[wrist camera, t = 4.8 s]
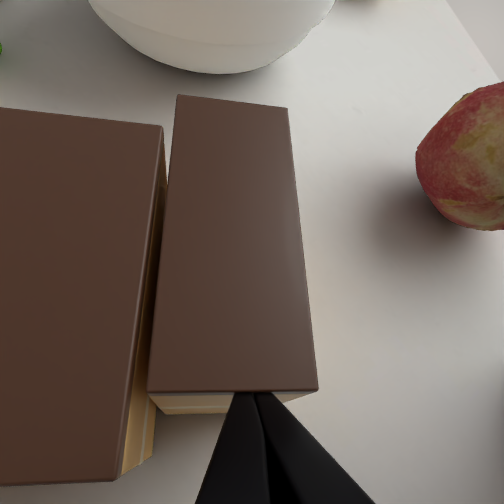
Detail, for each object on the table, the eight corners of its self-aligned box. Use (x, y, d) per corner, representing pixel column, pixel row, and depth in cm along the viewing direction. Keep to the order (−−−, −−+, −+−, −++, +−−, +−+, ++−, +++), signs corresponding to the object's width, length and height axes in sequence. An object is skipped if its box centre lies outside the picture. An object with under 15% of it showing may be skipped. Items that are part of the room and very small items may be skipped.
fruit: (377, 218, 21) (476, 108, 14) (404, 140, 24) (492, 21, 17) (499, 278, 20) (667, 195, 13) (507, 188, 24) (641, 86, 17)
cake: (152, 457, 13) (117, 483, 6) (-89, 466, 12) (-476, 510, 5) (172, 248, 17) (164, 124, 10) (-5, 238, 16) (-149, 88, 9)
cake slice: (255, 412, 15) (321, 392, 8) (164, 415, 14) (144, 394, 7) (248, 178, 20) (281, 44, 13) (183, 172, 20) (183, 29, 13)
